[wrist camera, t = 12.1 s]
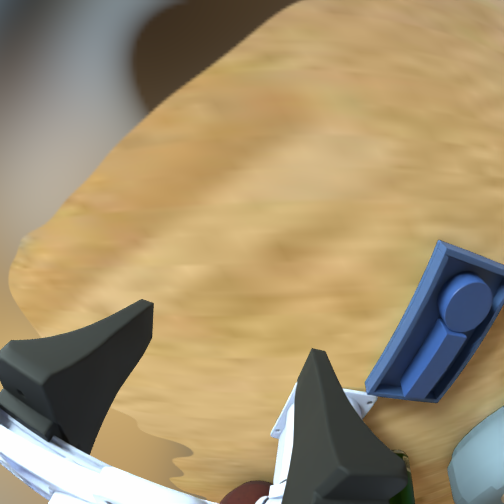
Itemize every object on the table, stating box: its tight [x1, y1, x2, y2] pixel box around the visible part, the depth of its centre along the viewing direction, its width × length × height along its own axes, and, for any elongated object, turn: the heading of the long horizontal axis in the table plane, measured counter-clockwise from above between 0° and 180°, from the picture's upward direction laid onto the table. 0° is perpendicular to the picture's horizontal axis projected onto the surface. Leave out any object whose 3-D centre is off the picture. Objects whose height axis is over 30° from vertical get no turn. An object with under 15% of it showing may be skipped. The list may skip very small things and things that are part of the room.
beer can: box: [389, 450, 415, 504], centre depth 24 cm, size 5×5×12 cm
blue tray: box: [365, 240, 504, 403], centre depth 21 cm, size 14×8×2 cm, turn 167°
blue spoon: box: [400, 271, 492, 399], centre depth 20 cm, size 11×4×2 cm, turn 167°
